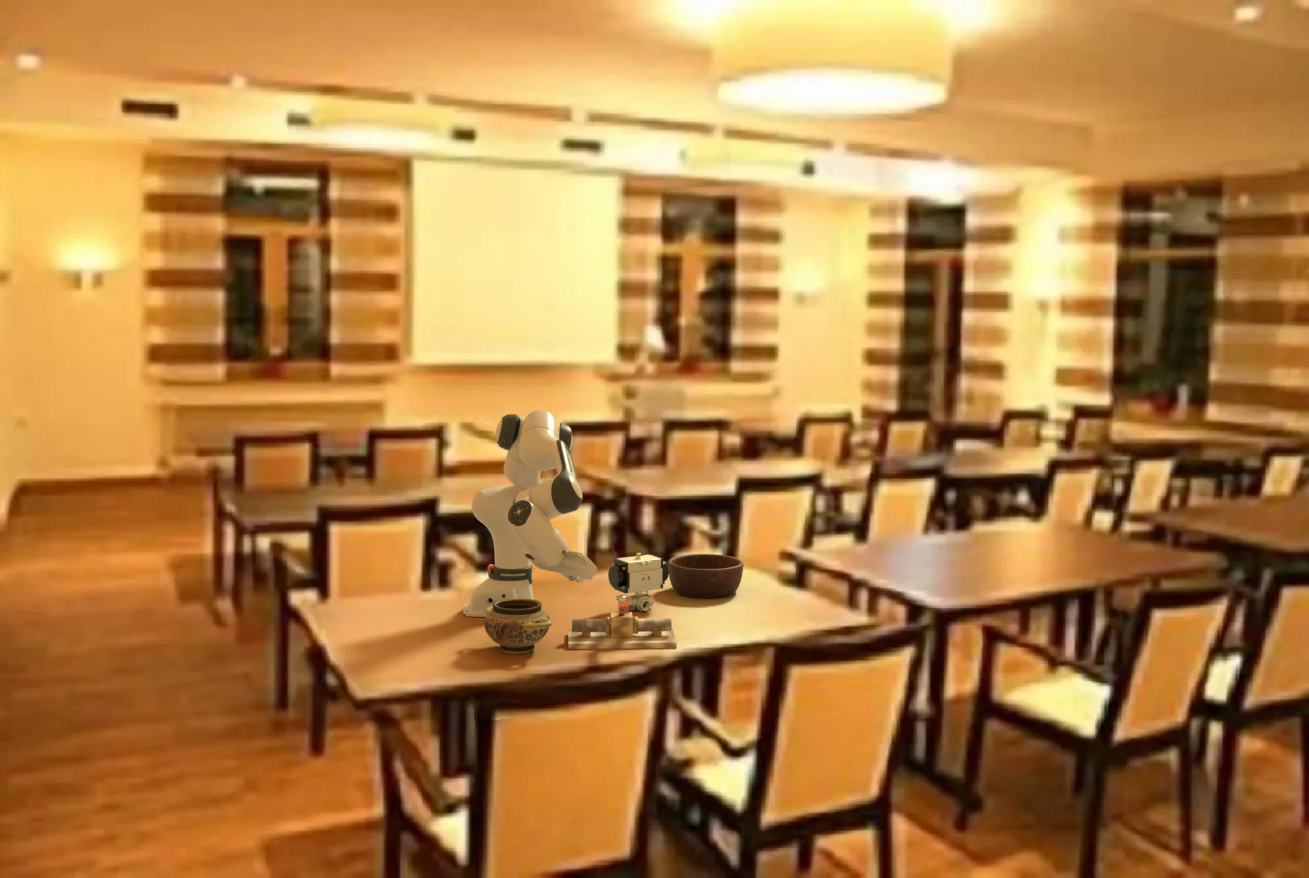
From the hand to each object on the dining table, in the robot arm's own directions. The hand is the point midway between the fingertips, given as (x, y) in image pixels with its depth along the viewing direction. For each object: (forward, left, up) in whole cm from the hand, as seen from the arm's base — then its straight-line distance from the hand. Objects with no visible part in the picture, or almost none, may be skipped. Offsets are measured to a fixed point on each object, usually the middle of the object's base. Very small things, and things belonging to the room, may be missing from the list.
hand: (577, 579), depth 333 cm
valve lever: (+13, +14, -11) cm, 22 cm away
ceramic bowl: (-16, +13, -23) cm, 31 cm away
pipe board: (+13, +20, -22) cm, 33 cm away
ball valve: (+20, +55, -23) cm, 63 cm away
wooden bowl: (+43, +78, -23) cm, 92 cm away
